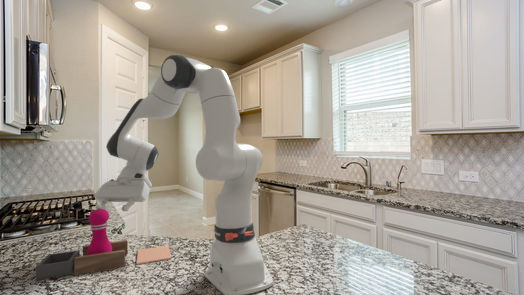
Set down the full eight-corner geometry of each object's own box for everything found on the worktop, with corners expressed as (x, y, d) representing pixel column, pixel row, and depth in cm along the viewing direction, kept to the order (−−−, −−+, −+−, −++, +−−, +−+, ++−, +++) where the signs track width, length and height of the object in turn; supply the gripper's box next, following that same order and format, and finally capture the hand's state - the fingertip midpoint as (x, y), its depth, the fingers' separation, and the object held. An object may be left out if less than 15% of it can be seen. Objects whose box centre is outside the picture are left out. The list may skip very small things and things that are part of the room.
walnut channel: (124, 266, 91) (124, 251, 91) (74, 274, 86) (74, 258, 86) (127, 253, 103) (127, 239, 103) (83, 260, 98) (83, 245, 98)
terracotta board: (171, 259, 96) (171, 257, 96) (136, 264, 92) (136, 263, 92) (168, 246, 109) (168, 245, 109) (138, 251, 105) (138, 249, 105)
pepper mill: (113, 258, 99) (112, 201, 99) (110, 265, 92) (109, 205, 92) (90, 261, 96) (88, 203, 96) (85, 269, 89) (83, 207, 90)
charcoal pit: (71, 274, 86) (71, 261, 86) (36, 280, 83) (35, 266, 83) (79, 261, 97) (79, 250, 97) (48, 266, 93) (48, 254, 93)
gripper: (102, 175, 110) (82, 205, 100) (148, 174, 106) (133, 205, 97) (111, 185, 115) (92, 214, 105) (155, 185, 111) (141, 215, 101)
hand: (112, 210), depth 101 cm, fingers open, 8 cm apart
